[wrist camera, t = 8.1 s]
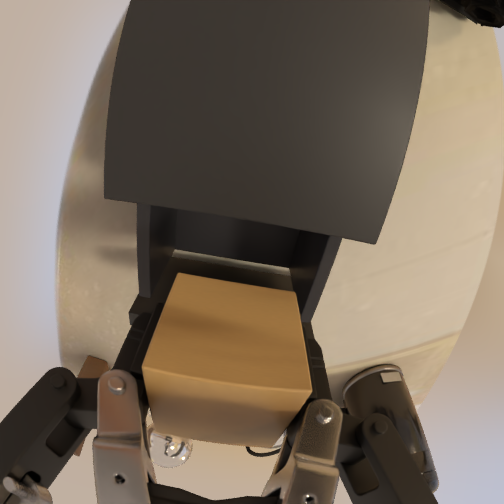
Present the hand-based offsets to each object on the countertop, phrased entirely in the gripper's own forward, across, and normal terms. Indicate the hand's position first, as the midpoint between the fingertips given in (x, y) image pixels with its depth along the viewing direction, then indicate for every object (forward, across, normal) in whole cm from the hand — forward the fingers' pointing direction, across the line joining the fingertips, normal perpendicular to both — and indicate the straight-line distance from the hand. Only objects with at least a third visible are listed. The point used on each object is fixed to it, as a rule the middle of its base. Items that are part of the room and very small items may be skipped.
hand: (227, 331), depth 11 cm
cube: (0, 0, 0) cm, 0 cm away
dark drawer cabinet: (+13, 0, -11) cm, 17 cm away
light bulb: (+13, +5, +30) cm, 33 cm away
